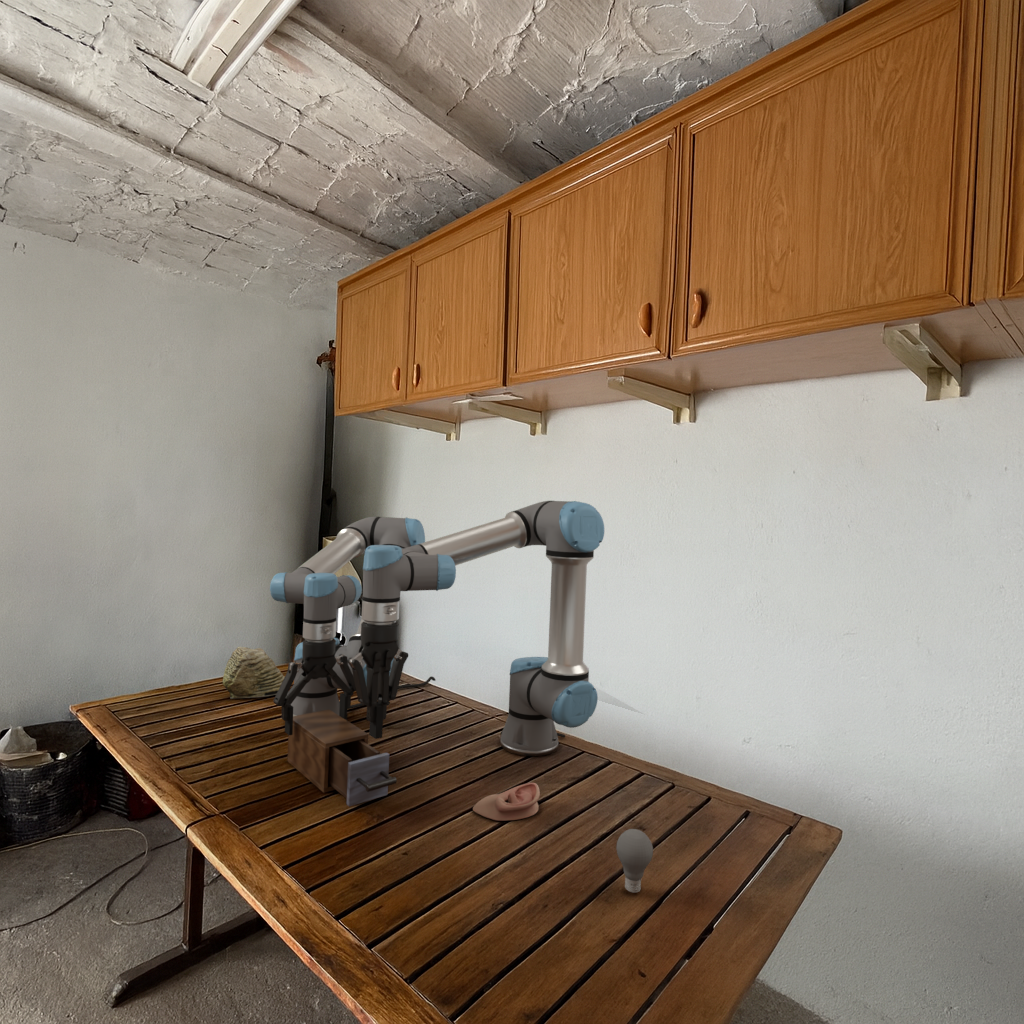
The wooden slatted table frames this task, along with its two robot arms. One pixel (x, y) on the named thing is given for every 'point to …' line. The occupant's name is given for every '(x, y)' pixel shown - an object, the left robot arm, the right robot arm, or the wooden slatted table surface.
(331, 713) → the cabinet
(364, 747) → the drawer
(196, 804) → the wooden slatted table surface
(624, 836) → the light bulb
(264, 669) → the fossil
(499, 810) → the anatomical model
